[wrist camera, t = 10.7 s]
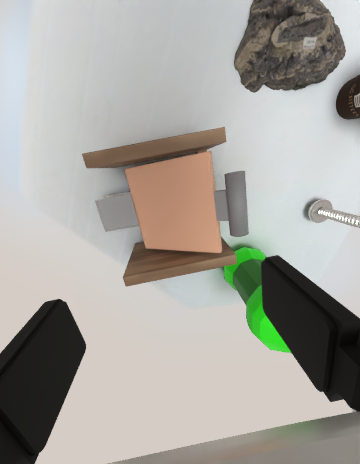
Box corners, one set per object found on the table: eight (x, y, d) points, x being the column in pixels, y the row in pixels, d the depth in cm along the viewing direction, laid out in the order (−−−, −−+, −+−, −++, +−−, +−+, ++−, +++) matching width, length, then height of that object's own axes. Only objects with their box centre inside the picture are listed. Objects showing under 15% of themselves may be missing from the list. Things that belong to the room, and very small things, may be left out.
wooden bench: (111, 158, 34) (82, 153, 22) (202, 141, 34) (224, 126, 22) (137, 250, 40) (125, 286, 28) (214, 234, 41) (236, 263, 28)
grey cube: (136, 189, 36) (106, 195, 36) (130, 194, 31) (95, 200, 31) (143, 217, 38) (114, 222, 38) (139, 225, 33) (105, 231, 33)
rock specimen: (234, -24, 28) (232, 95, 33) (245, -53, 24) (241, 86, 29) (353, -26, 29) (334, 89, 34) (381, -54, 25) (355, 80, 30)
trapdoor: (131, 167, 31) (121, 169, 29) (244, 144, 22) (240, 144, 20) (151, 244, 36) (143, 250, 34) (250, 249, 27) (248, 257, 25)
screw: (298, 208, 40) (318, 193, 40) (308, 224, 42) (327, 210, 41) (357, 226, 28) (388, 205, 27) (368, 248, 30) (397, 228, 29)
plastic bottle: (253, 282, 46) (350, 405, 22) (212, 276, 44) (268, 402, 21) (268, 245, 43) (397, 341, 19) (224, 237, 41) (306, 331, 18)
